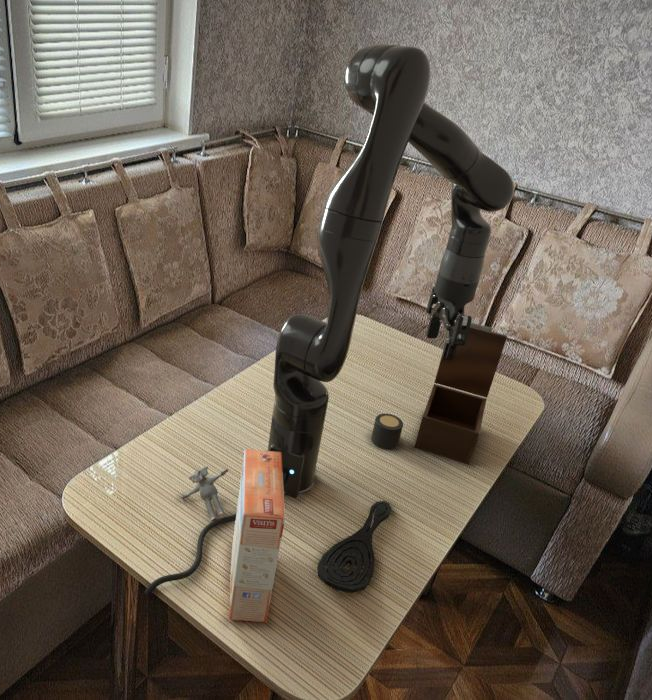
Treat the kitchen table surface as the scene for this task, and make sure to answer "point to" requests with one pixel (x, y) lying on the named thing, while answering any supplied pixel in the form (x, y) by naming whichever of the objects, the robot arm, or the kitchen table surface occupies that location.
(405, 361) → the kitchen table surface
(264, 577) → the cracker box
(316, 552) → the kitchen table surface
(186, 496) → the elephant figurine
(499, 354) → the lid
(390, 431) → the dark grey short cylinder
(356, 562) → the hairbrush
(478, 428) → the box
